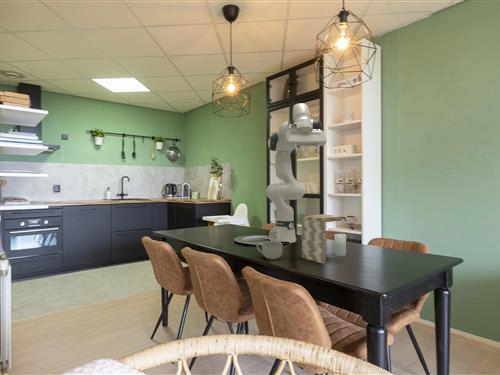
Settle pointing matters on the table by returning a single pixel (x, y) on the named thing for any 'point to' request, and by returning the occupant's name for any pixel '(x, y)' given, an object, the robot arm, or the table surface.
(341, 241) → the pale grey upright cylinder
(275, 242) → the teacup
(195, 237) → the table surface
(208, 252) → the table surface
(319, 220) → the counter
